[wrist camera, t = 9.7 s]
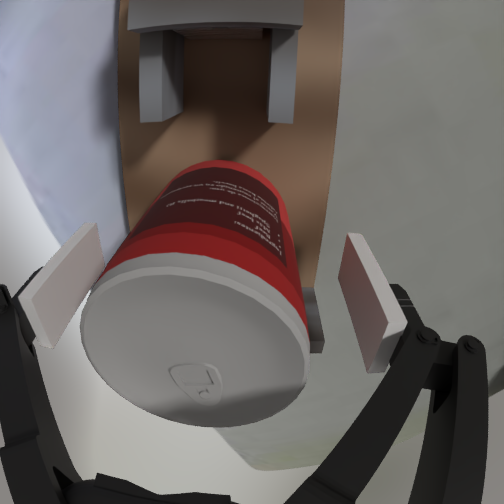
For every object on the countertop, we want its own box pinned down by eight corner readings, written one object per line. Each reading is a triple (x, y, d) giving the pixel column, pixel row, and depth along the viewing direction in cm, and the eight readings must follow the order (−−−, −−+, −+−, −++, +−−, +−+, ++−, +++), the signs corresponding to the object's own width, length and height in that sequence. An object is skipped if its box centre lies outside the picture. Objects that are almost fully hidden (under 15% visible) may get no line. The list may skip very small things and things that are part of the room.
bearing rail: (138, -83, 10) (95, -126, 4) (339, -85, 10) (369, -136, 4) (144, 280, 23) (115, 344, 17) (309, 288, 23) (322, 358, 17)
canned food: (202, 292, 22) (171, 438, 12) (135, 193, 18) (35, 315, 9) (308, 249, 20) (342, 402, 10) (250, 131, 16) (236, 215, 7)
